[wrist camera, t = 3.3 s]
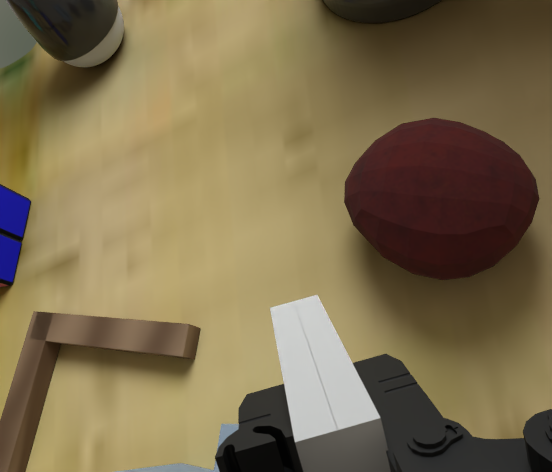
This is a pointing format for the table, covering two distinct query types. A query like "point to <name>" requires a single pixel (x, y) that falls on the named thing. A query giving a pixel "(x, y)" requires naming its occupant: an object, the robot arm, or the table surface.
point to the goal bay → (42, 357)
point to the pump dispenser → (73, 28)
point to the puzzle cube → (11, 231)
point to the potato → (441, 198)
